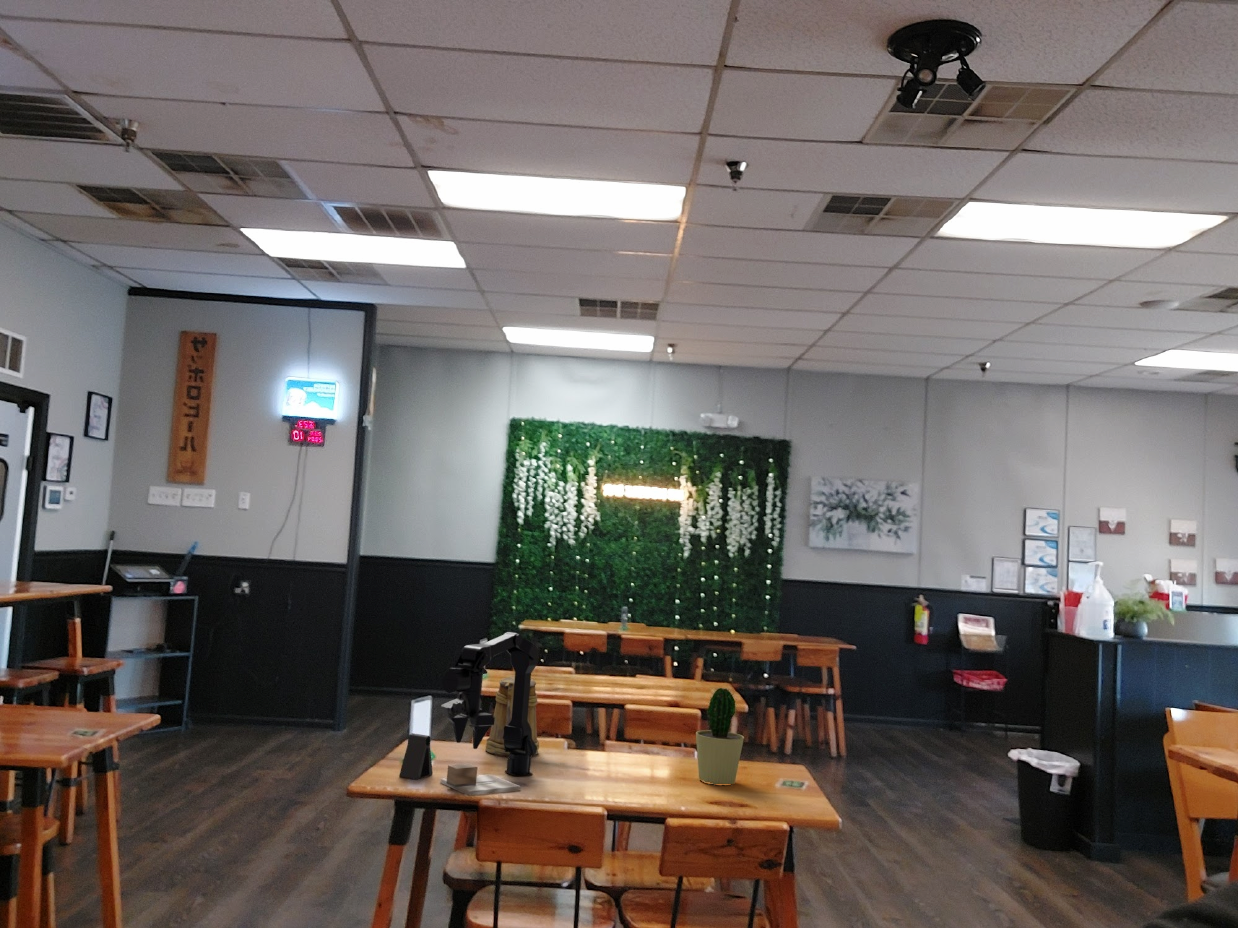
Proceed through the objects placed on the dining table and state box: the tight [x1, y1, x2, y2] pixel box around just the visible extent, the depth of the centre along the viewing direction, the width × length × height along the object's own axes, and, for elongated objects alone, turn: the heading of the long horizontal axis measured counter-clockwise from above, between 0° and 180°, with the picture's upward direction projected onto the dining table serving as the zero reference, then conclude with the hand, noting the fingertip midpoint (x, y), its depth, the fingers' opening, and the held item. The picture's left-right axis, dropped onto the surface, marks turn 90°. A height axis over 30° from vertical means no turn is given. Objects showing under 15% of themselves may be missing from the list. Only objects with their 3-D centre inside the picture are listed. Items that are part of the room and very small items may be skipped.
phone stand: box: [398, 732, 434, 781], centre depth 300 cm, size 9×6×12 cm, turn 160°
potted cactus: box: [695, 687, 745, 785], centre depth 325 cm, size 15×15×30 cm
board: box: [440, 773, 522, 797], centre depth 293 cm, size 17×16×1 cm
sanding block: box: [446, 763, 478, 787], centre depth 289 cm, size 7×4×5 cm, turn 130°
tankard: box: [485, 675, 540, 758], centre depth 344 cm, size 18×24×25 cm
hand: (466, 745), depth 290 cm, fingers open, 9 cm apart
